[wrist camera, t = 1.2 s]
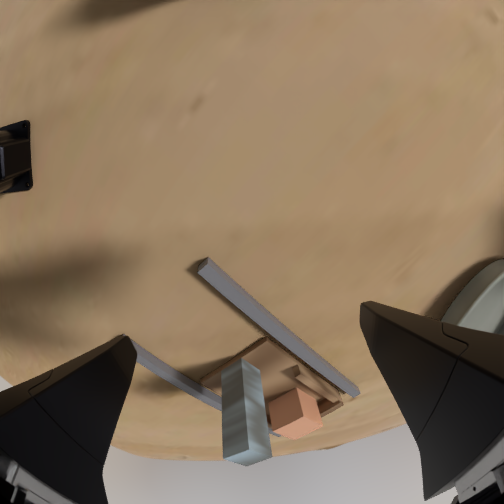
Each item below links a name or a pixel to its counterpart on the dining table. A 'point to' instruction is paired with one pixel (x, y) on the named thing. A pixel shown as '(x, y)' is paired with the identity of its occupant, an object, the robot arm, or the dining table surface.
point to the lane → (263, 319)
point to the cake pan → (481, 301)
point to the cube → (294, 414)
